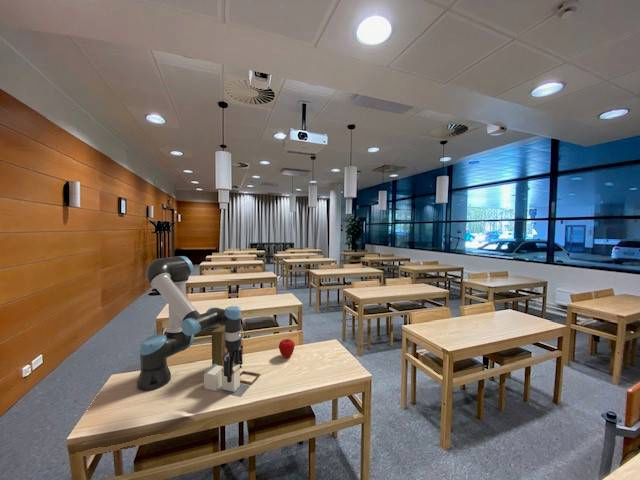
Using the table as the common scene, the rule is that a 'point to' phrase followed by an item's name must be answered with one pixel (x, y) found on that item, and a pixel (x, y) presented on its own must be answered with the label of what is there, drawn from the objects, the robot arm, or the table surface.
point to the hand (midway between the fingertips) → (233, 384)
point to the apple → (286, 347)
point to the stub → (235, 378)
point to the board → (238, 392)
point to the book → (218, 346)
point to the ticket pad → (213, 377)
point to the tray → (251, 374)
